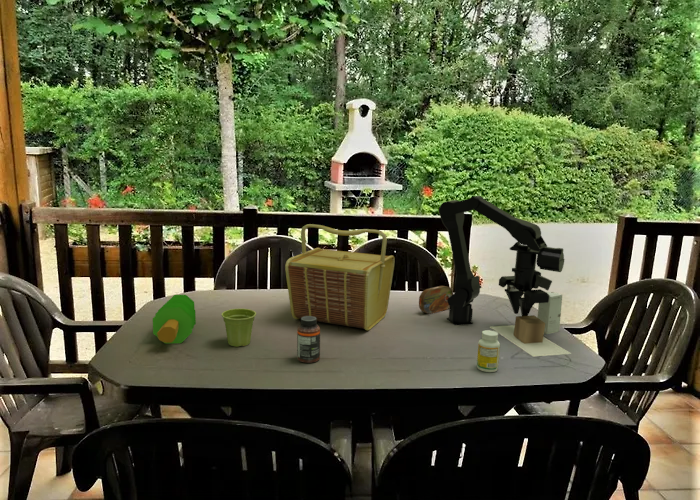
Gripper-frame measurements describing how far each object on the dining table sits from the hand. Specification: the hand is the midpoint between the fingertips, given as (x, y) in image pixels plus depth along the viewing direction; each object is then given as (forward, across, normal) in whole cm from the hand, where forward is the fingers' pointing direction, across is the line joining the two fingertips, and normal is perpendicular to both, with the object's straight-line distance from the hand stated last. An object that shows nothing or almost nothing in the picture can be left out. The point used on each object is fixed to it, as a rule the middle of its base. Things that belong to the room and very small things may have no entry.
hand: (520, 316), depth 168 cm
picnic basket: (+6, +24, +50) cm, 56 cm away
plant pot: (+5, +7, +83) cm, 84 cm away
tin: (+7, +27, +16) cm, 32 cm away
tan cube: (+2, -3, 0) cm, 3 cm away
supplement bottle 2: (+5, -22, +22) cm, 32 cm away
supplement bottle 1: (+5, -8, +66) cm, 67 cm away
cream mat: (+6, -6, 0) cm, 8 cm away
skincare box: (+6, 0, -10) cm, 12 cm away
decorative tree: (+6, +19, +100) cm, 101 cm away
